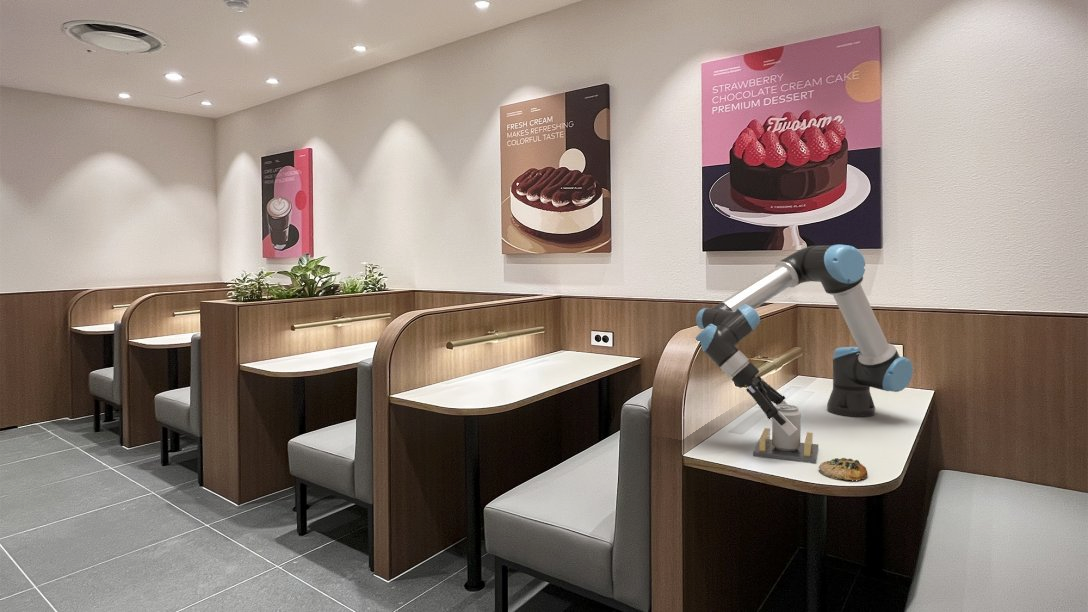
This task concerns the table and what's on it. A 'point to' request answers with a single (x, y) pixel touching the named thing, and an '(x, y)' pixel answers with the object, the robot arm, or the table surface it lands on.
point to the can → (779, 435)
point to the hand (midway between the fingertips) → (795, 426)
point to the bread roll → (844, 469)
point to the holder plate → (803, 453)
